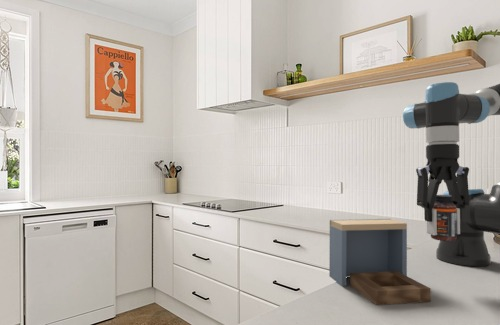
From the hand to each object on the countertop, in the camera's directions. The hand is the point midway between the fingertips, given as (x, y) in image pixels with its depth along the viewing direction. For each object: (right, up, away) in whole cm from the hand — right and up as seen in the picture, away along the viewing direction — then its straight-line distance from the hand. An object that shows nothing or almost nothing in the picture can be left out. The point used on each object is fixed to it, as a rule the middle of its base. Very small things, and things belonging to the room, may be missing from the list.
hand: (443, 233), depth 89 cm
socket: (-17, -13, -6) cm, 22 cm away
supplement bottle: (0, -2, 0) cm, 2 cm away
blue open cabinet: (-18, -13, +4) cm, 23 cm away
